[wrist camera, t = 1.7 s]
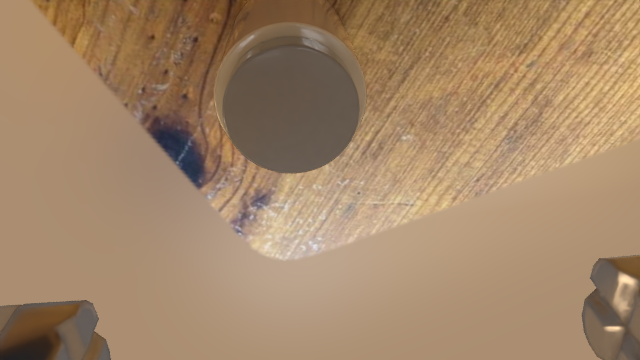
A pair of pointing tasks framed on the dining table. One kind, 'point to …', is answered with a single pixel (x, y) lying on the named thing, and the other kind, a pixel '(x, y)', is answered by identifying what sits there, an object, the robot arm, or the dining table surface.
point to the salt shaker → (289, 85)
